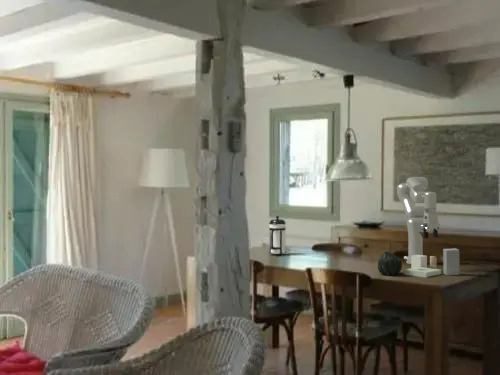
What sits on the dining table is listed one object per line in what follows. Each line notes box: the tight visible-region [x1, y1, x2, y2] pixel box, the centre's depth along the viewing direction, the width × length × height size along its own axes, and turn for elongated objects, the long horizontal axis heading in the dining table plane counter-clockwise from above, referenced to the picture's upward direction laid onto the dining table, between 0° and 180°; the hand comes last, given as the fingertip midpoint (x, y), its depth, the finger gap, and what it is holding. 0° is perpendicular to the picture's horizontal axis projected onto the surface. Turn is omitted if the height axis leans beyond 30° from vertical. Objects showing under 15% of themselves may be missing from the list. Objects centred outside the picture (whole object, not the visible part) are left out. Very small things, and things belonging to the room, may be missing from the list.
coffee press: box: [268, 215, 287, 256], centre depth 486 cm, size 17×16×30 cm
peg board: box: [403, 267, 442, 278], centre depth 390 cm, size 16×16×3 cm
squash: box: [377, 251, 403, 276], centre depth 392 cm, size 14×15×15 cm
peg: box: [429, 255, 438, 269], centre depth 398 cm, size 4×4×10 cm
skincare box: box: [442, 247, 460, 276], centre depth 390 cm, size 8×7×16 cm
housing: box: [410, 254, 428, 268], centre depth 407 cm, size 7×7×9 cm
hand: (430, 237), depth 410 cm, fingers open, 9 cm apart
